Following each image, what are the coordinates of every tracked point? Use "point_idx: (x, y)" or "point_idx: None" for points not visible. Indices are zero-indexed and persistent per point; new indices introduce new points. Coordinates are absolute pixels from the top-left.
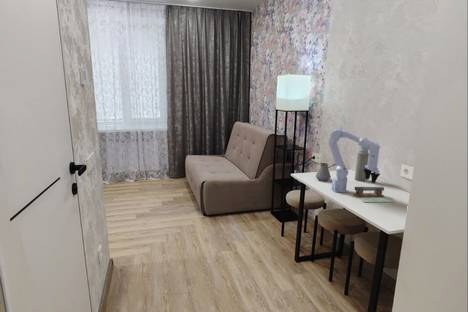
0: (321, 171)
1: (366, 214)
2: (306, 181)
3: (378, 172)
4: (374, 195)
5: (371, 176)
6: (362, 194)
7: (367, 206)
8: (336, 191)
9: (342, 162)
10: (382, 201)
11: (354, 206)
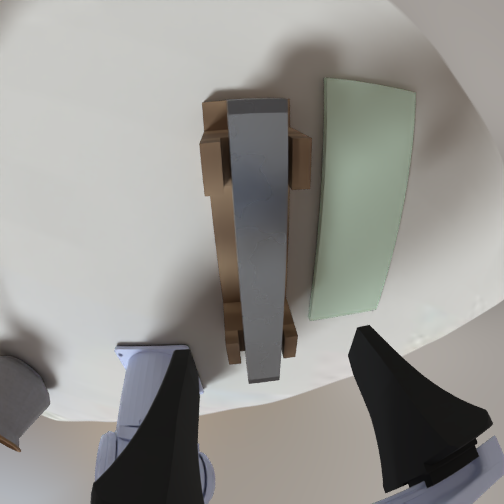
0: (31, 424)
1: (457, 320)
2: (87, 420)
3: (496, 456)
4: None
5: (382, 439)
6: (288, 307)
7: (416, 301)
8: (201, 390)
9: None
10: (403, 191)
11: (394, 348)
